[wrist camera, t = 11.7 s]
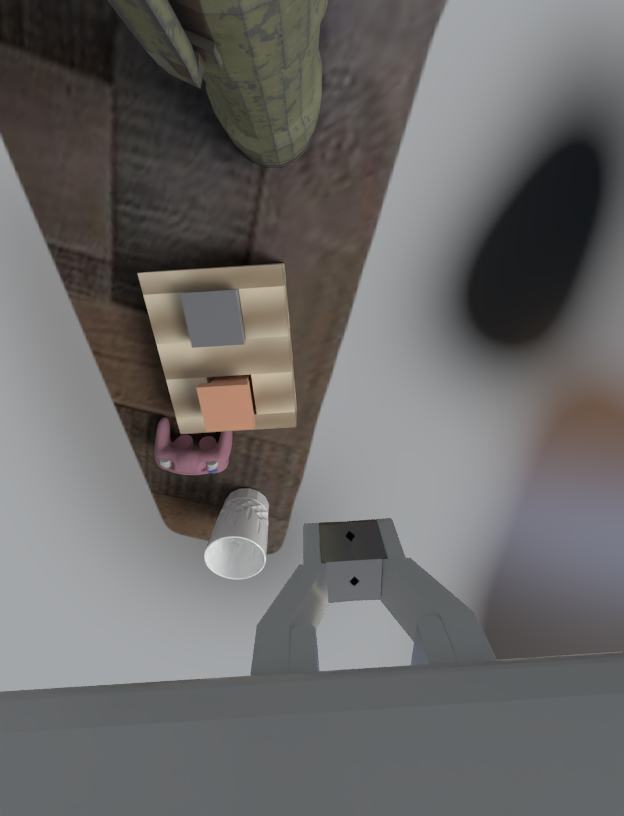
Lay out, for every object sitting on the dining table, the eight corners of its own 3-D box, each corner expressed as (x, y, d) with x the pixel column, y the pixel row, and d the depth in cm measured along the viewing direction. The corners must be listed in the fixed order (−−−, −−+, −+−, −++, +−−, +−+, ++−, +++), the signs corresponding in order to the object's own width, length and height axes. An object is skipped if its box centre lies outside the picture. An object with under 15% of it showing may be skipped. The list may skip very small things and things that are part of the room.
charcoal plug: (200, 286, 36) (180, 293, 30) (246, 283, 36) (235, 289, 30) (209, 333, 38) (192, 347, 32) (252, 330, 38) (243, 344, 32)
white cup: (269, 482, 49) (262, 534, 40) (274, 521, 52) (269, 577, 43) (217, 485, 49) (198, 538, 40) (226, 524, 52) (210, 581, 43)
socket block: (158, 270, 36) (137, 273, 31) (284, 262, 36) (281, 264, 31) (193, 415, 43) (180, 434, 39) (296, 409, 43) (296, 426, 39)
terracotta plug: (212, 367, 39) (196, 387, 33) (255, 364, 39) (247, 384, 33) (220, 405, 41) (206, 432, 35) (261, 403, 41) (253, 429, 35)
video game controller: (167, 432, 46) (151, 477, 42) (158, 413, 43) (140, 460, 38) (236, 436, 47) (228, 481, 43) (233, 418, 43) (224, 465, 39)
